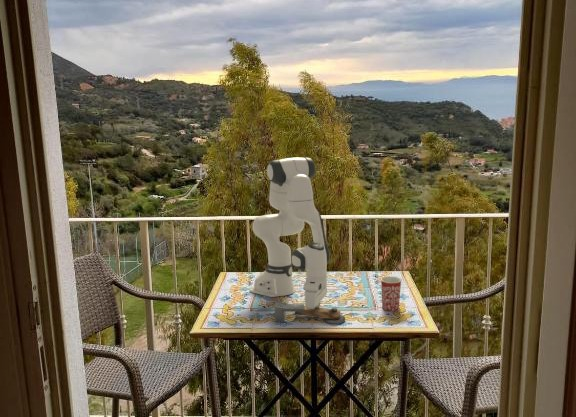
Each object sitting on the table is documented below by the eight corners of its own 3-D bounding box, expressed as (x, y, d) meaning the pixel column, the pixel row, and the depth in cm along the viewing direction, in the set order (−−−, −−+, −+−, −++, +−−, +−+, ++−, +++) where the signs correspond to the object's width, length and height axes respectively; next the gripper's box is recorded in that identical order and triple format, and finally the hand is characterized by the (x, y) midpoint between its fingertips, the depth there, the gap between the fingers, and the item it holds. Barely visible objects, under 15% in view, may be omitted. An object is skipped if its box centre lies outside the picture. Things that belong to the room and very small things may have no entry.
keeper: (304, 316, 229) (304, 302, 228) (303, 322, 222) (302, 308, 221) (276, 315, 230) (276, 301, 229) (274, 322, 223) (274, 307, 222)
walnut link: (341, 315, 225) (341, 307, 224) (338, 320, 220) (338, 311, 220) (298, 310, 232) (298, 302, 231) (294, 314, 227) (294, 306, 227)
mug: (403, 311, 231) (404, 282, 229) (383, 312, 231) (383, 283, 228) (395, 301, 244) (396, 273, 242) (376, 302, 243) (376, 274, 241)
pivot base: (320, 322, 222) (320, 320, 222) (328, 315, 230) (328, 312, 230) (340, 325, 218) (340, 323, 218) (348, 318, 226) (348, 315, 226)
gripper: (316, 273, 238) (316, 302, 241) (302, 287, 219) (302, 319, 222) (330, 274, 236) (330, 304, 238) (316, 289, 217) (317, 321, 220)
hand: (316, 311), depth 230 cm, fingers closed
